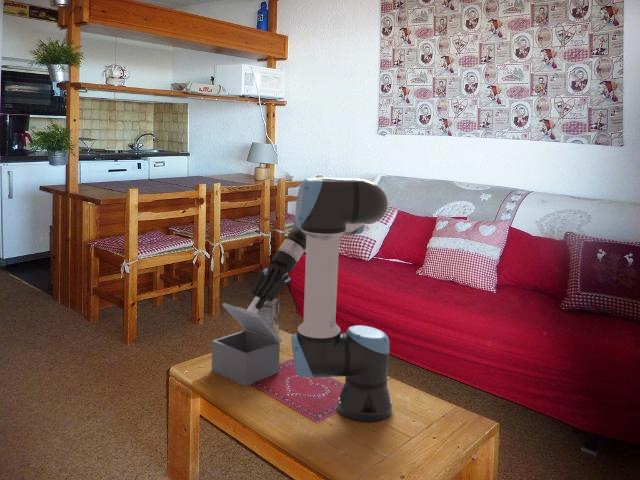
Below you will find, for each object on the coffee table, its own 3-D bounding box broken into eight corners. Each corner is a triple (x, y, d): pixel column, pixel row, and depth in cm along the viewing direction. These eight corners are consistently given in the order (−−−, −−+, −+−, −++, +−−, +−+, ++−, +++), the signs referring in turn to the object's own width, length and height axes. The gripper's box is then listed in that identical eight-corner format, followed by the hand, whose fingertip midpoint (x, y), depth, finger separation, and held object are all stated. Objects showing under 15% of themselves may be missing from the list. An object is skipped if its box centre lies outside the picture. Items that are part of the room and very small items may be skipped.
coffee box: (262, 339, 222) (263, 296, 219) (279, 341, 221) (280, 298, 217) (254, 348, 213) (255, 304, 210) (272, 350, 212) (273, 306, 209)
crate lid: (280, 343, 192) (282, 339, 192) (257, 317, 182) (259, 314, 183) (245, 329, 202) (247, 326, 203) (222, 305, 193) (224, 302, 193)
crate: (278, 373, 194) (279, 343, 192) (245, 386, 183) (246, 354, 181) (245, 358, 204) (245, 330, 202) (211, 370, 194) (211, 340, 192)
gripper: (307, 266, 199) (269, 327, 190) (278, 259, 208) (241, 317, 199) (296, 253, 194) (256, 315, 185) (267, 246, 203) (228, 304, 194)
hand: (248, 316), depth 192 cm, fingers closed
